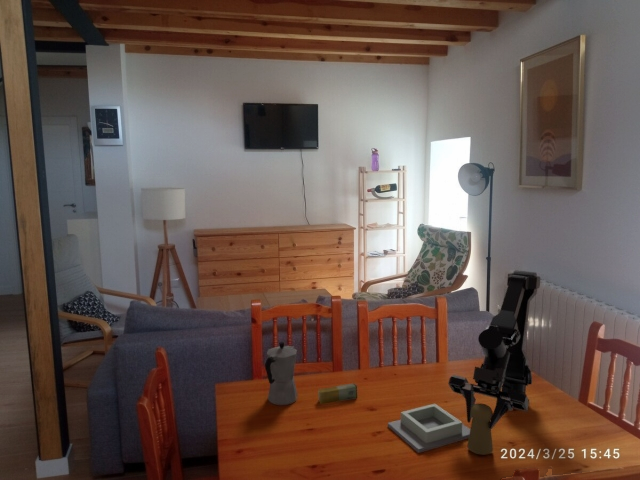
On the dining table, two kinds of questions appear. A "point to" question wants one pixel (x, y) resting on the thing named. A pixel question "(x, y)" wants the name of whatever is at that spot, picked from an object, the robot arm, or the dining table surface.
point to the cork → (480, 430)
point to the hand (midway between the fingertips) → (479, 425)
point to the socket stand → (429, 428)
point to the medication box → (337, 393)
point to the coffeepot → (281, 374)
